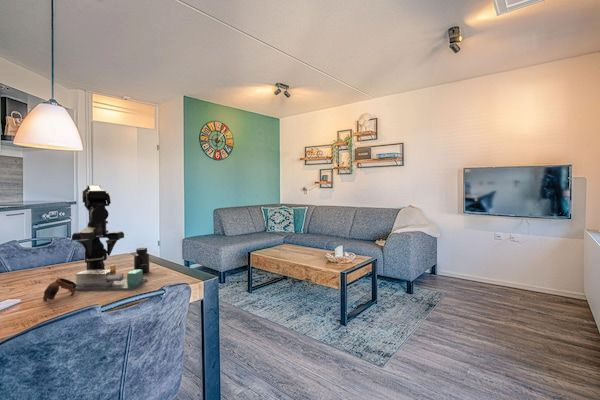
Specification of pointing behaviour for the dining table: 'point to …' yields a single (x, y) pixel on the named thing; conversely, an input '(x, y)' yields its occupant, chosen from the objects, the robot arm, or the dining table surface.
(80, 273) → the tube rig
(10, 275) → the dining table surface
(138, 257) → the supplement bottle
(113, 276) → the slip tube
